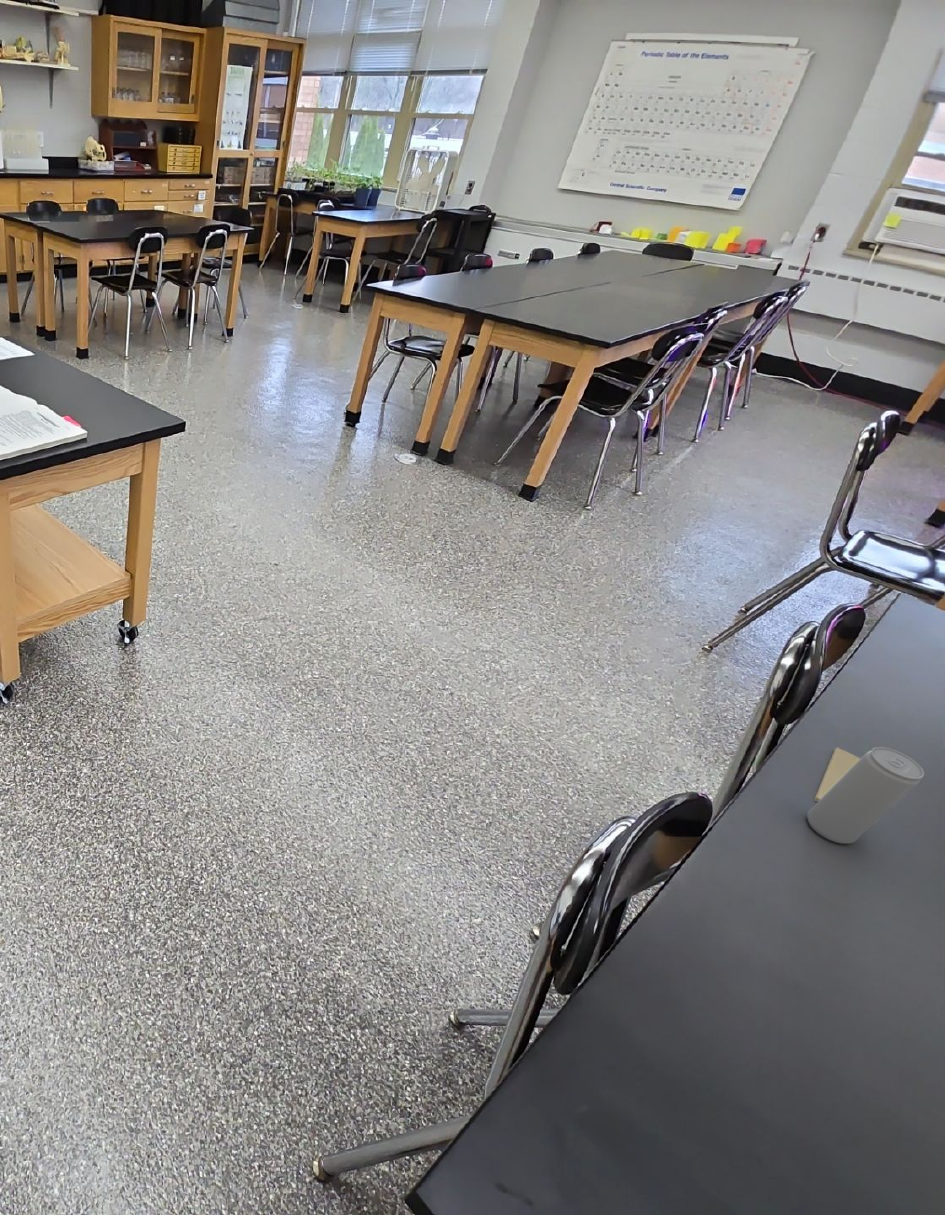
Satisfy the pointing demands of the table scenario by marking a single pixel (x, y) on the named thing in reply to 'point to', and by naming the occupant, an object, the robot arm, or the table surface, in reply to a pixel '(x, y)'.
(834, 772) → the napkin
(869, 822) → the beverage can
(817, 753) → the table surface
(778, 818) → the table surface
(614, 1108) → the table surface
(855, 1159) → the table surface
